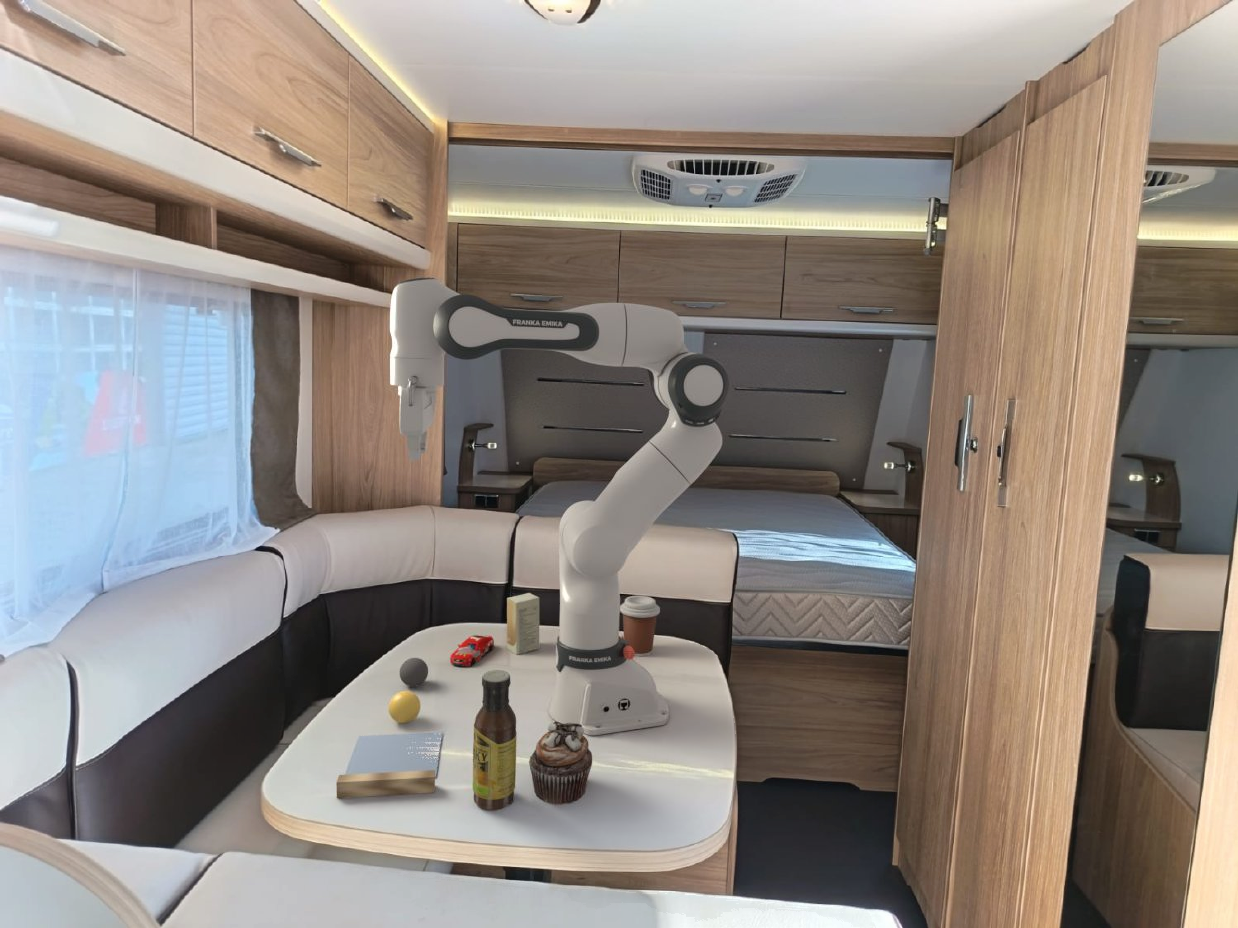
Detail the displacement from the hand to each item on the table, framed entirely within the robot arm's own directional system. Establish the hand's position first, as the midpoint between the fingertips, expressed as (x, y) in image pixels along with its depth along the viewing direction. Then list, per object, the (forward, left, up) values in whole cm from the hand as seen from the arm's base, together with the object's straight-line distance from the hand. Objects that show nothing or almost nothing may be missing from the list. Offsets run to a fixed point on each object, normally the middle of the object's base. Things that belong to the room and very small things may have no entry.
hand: (417, 456), depth 129 cm
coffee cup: (-46, -28, -48) cm, 72 cm away
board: (+2, +13, -48) cm, 50 cm away
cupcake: (-24, +25, -48) cm, 59 cm away
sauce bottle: (-14, +27, -48) cm, 57 cm away
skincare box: (-20, -31, -48) cm, 61 cm away
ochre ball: (+2, +1, -45) cm, 45 cm away
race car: (-9, -28, -48) cm, 57 cm away
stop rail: (+2, +23, -48) cm, 53 cm away
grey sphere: (+2, -14, -45) cm, 47 cm away
